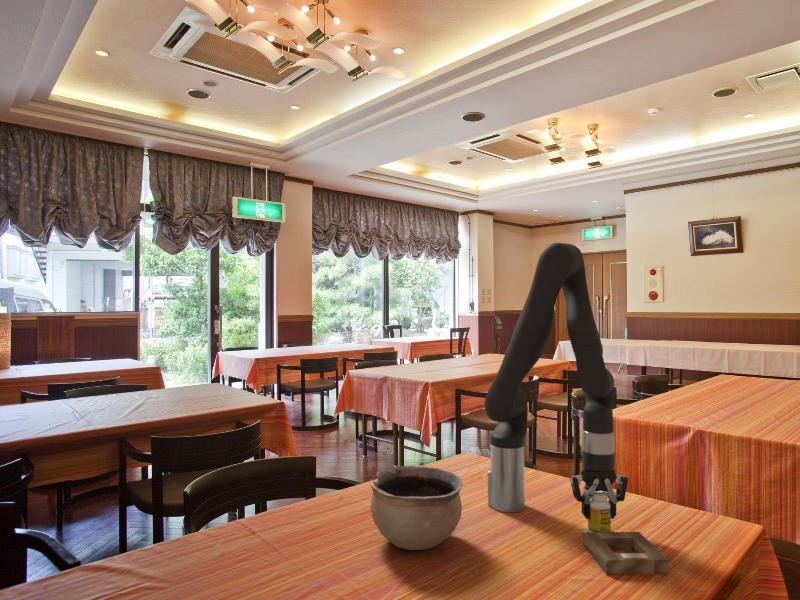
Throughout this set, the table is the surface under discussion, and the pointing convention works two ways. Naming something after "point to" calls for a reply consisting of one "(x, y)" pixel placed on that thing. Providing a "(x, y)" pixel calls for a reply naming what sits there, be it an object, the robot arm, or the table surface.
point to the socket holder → (635, 563)
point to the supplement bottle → (599, 513)
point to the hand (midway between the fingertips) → (599, 517)
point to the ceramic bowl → (416, 505)
